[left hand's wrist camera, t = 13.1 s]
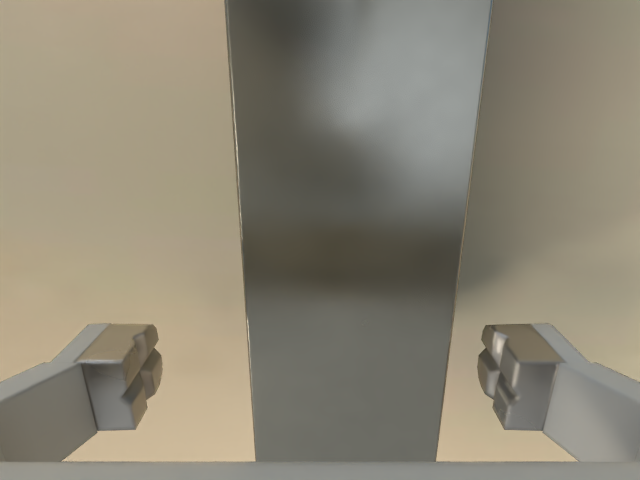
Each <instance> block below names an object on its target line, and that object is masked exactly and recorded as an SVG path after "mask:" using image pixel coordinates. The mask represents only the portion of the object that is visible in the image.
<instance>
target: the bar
mask: <svg viewBox="0 0 640 480" xmlns="http://www.w3.org/2000/svg"><path fill="white" fill-rule="evenodd" d="M224 3H225V18H226V32H227V47H228V62H229V77H230V91H231V106H232V121H233V136H234V150H235V165H236V180H237V195H238V209H239V224H240V239H241V253H242V268H243V283H244V298H245V312H246V327H247V342H248V357H249V371H250V386H251V401H252V415H253V430H254V445H255V460H256V462H436V457H437V449H438V441H439V433H440V425H441V417H442V409H443V401H444V393H445V385H446V377H447V369H448V361H449V353H450V345H451V337H452V329H453V321H454V313H455V305H456V297H457V289H458V281H459V273H460V266H461V258H462V250H463V242H464V234H465V226H466V218H467V210H468V202H469V194H470V186H471V178H472V170H473V162H474V154H475V146H476V138H477V130H478V122H479V114H480V106H481V98H482V90H483V82H484V74H485V66H486V58H487V50H488V42H489V34H490V27H491V19H492V11H493V3H494V0H224Z"/></svg>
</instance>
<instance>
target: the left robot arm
mask: <svg viewBox="0 0 640 480" xmlns="http://www.w3.org/2000/svg"><path fill="white" fill-rule="evenodd" d="M158 340H159V339H158V334H157V329H156V327H155V326H154V325H153V324H111V323H100V324H89V325H87V326H86V327H85V328H84V329H83V330H82V331H81V332H80V333H79V334H78V335H77V336H76V337H75V338H74V339H73V340H72V341H71V342H70V343H69V344H68V345H67V346H66V347H65V348H64V349H63V350H62V351H61V352H60V353H59V354H58V355H57V356H56V357H55V358H54V359H53V360H52V361H51V362H50V363H42V364H39V365H37V366H35V367H33V368H31V369H28V370H26V371H24V372H22V373H19V374H17V375H15V376H13V377H11V378H8V379H6V380H4V381H2V382H0V480H640V382H638V381H636V380H634V379H631V378H629V377H627V376H625V375H623V374H620V373H618V372H616V371H614V370H612V369H609V368H607V367H605V366H603V365H601V364H598V363H590V362H589V361H588V360H587V359H586V358H585V357H584V356H583V355H582V354H581V353H580V352H579V351H578V350H577V349H576V348H575V347H574V346H573V345H572V344H571V343H570V342H569V341H568V340H567V339H566V338H565V337H564V336H563V335H562V334H561V333H560V332H559V331H558V330H557V329H556V328H555V327H554V326H553V325H551V324H548V323H538V324H507V325H485V328H484V330H483V333H482V339H481V340H482V342H483V343H484V345H485V346H486V348H485V349H484V350H483V351H482V352H481V354H480V355H479V358H478V366H477V368H478V378H479V381H480V385H481V387H482V389H483V391H484V393H485V394H486V395H487V396H489V397H490V398H492V399H493V400H494V402H493V410H494V411H495V413H496V415H497V417H498V419H499V421H500V422H501V424H502V426H503V428H504V430H534V431H543V433H544V434H545V435H546V436H548V437H549V438H550V439H551V440H553V441H554V442H555V443H556V444H558V445H559V446H560V447H561V448H563V449H564V450H565V451H567V452H568V453H569V454H570V455H572V456H573V457H574V458H575V459H577V460H578V461H579V462H61V461H62V460H63V459H65V458H66V457H67V456H69V455H70V454H71V453H72V452H74V451H75V450H76V449H77V448H79V447H80V446H81V445H82V444H84V443H85V442H86V441H87V440H89V439H90V438H91V437H93V436H94V435H95V434H96V433H97V431H105V430H136V428H137V426H138V424H139V422H140V421H141V419H142V417H143V415H144V413H145V411H146V410H147V402H146V400H147V399H148V398H150V397H151V396H153V395H154V394H155V393H156V391H157V389H158V387H159V385H160V381H161V377H162V358H161V355H160V354H159V352H158V351H157V350H156V349H155V348H154V346H155V345H156V343H157V342H158Z"/></svg>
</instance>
